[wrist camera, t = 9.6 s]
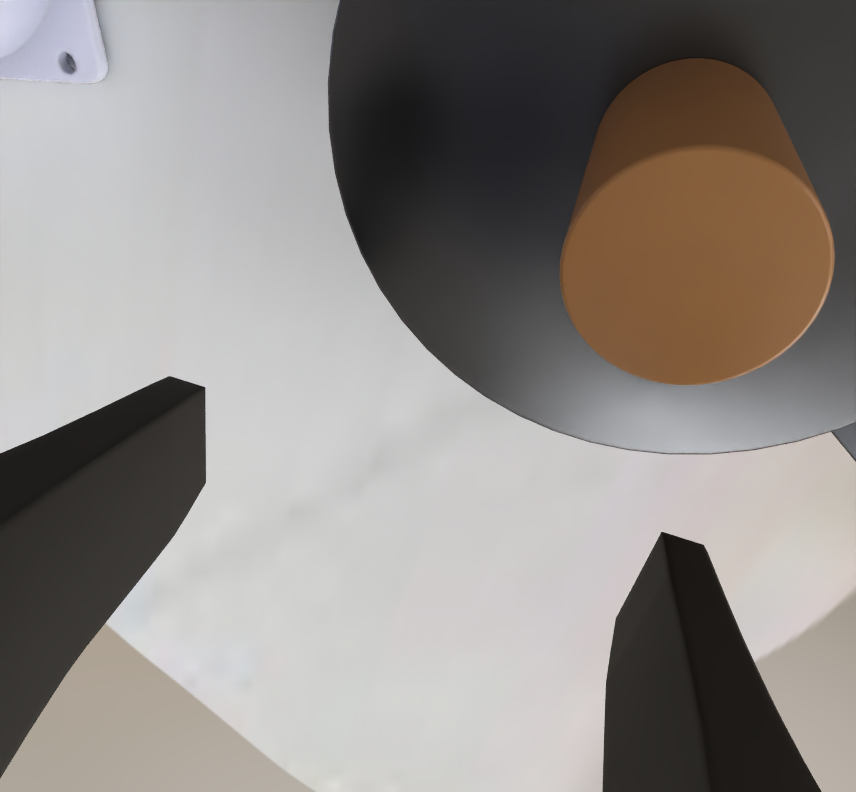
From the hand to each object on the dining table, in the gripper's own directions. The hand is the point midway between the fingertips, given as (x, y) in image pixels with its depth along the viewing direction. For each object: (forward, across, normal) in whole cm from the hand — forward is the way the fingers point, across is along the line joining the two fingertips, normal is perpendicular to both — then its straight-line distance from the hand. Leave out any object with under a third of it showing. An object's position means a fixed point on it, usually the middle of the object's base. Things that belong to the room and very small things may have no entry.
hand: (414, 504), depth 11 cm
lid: (+4, -2, -5) cm, 7 cm away
